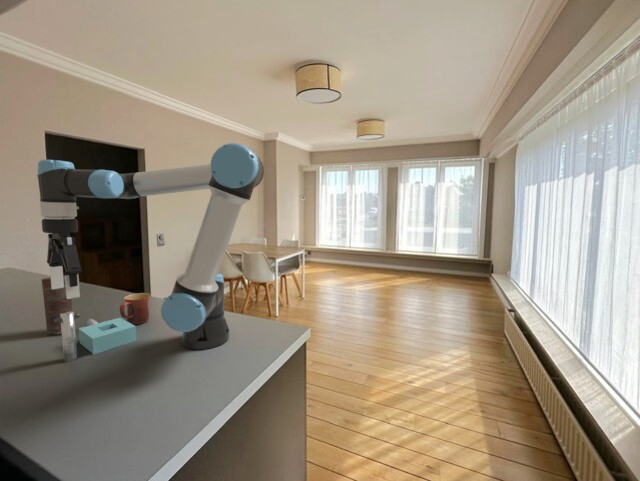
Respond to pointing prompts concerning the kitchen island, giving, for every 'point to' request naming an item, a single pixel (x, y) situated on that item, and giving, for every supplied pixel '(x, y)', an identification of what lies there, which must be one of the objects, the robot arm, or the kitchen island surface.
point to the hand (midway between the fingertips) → (65, 292)
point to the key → (68, 334)
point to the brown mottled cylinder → (55, 305)
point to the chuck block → (106, 334)
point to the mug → (136, 308)
